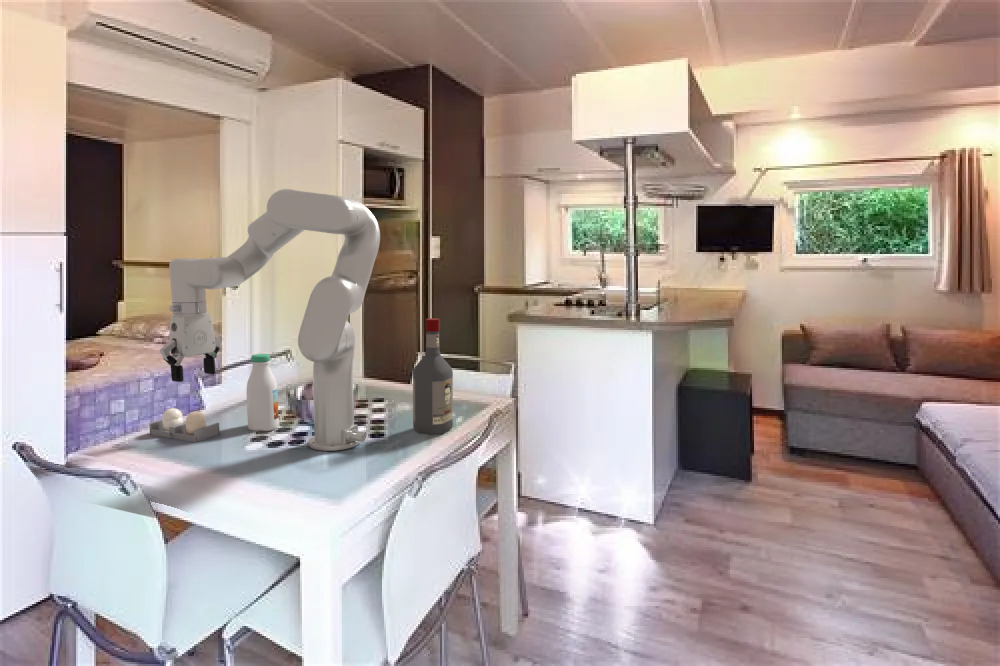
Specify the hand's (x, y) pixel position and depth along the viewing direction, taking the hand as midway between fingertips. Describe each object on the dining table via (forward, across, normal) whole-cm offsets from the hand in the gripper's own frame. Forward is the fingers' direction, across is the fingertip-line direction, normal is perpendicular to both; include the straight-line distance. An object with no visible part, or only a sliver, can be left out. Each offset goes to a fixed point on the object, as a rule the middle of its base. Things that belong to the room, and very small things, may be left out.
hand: (194, 377), depth 152 cm
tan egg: (+15, 0, 0) cm, 15 cm away
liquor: (+17, +30, -51) cm, 61 cm away
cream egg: (+15, 0, +8) cm, 17 cm away
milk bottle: (+16, +13, -9) cm, 23 cm away
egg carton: (+16, 0, +4) cm, 16 cm away
